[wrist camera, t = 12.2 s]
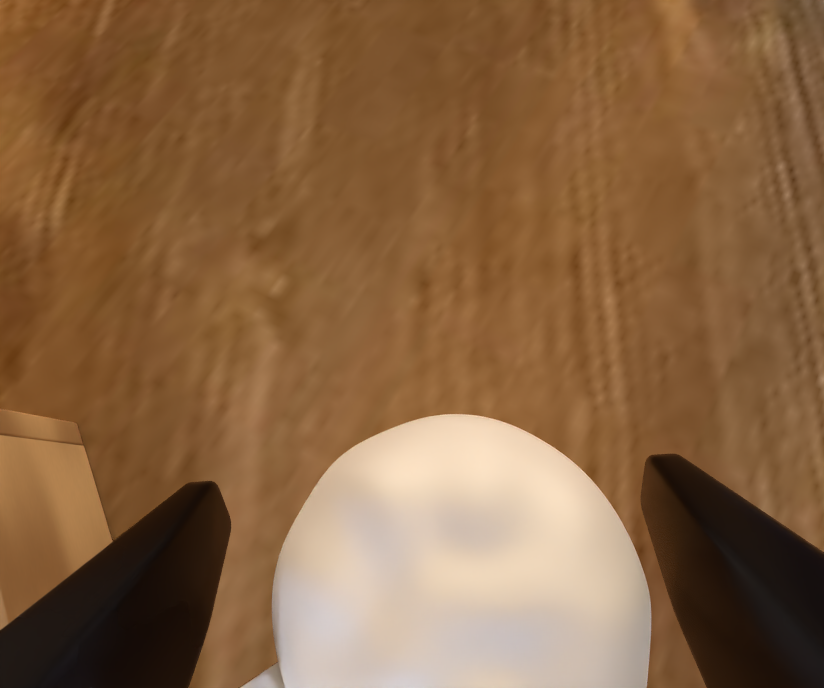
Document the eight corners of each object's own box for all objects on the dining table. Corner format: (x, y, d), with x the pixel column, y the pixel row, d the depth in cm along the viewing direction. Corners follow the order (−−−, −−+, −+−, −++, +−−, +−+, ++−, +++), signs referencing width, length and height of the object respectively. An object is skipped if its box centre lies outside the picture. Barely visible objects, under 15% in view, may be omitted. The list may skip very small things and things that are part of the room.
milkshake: (326, 508, 15) (65, 534, 5) (500, 431, 15) (566, 315, 5) (386, 680, 13) (188, 1156, 4) (578, 594, 13) (858, 842, 4)
